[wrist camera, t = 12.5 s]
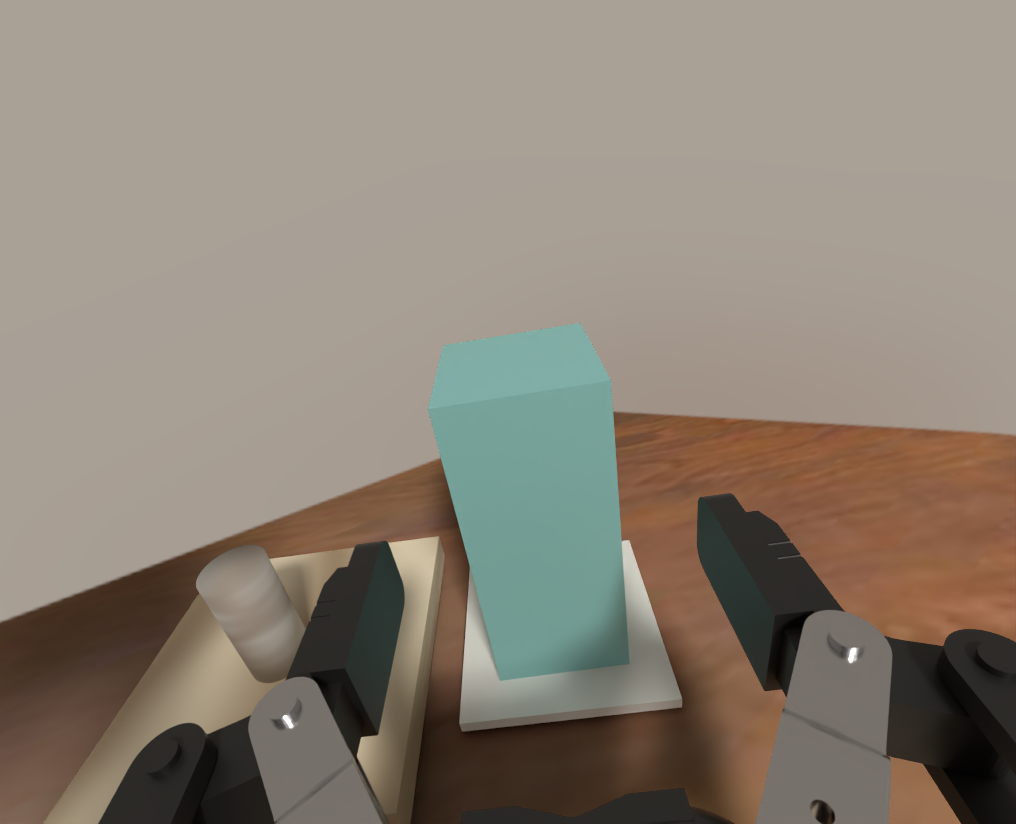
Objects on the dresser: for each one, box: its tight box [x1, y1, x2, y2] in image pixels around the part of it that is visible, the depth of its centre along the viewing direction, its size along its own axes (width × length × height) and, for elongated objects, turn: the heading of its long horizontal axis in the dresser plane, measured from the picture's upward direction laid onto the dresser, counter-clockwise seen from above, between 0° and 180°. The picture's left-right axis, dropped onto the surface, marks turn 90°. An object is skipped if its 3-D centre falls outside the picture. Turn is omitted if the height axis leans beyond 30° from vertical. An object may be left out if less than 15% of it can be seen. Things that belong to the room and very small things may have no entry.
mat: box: [459, 540, 682, 732], centre depth 21 cm, size 8×8×1 cm
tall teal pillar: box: [428, 323, 630, 681], centre depth 18 cm, size 5×5×12 cm
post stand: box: [43, 536, 445, 824], centre depth 20 cm, size 12×12×6 cm
